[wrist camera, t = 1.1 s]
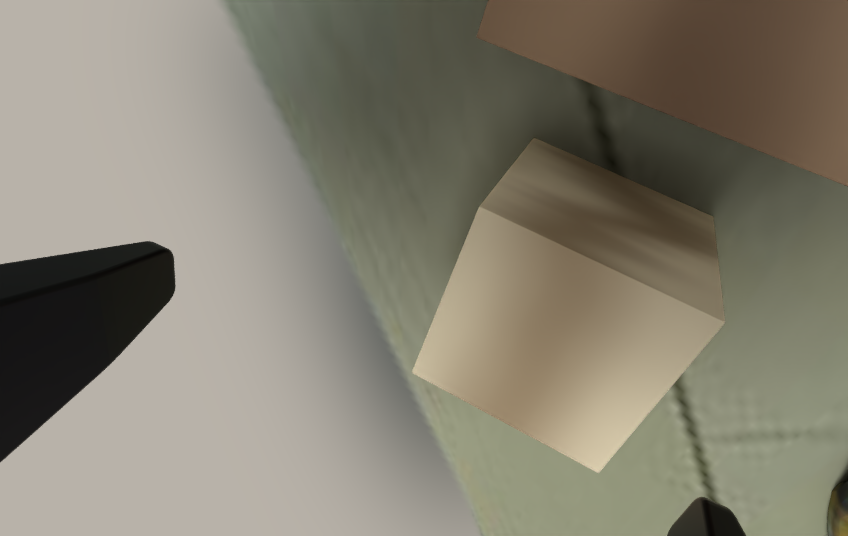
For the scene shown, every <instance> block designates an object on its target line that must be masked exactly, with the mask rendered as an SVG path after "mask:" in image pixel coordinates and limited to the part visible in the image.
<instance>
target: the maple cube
mask: <svg viewBox="0 0 848 536" xmlns="http://www.w3.org/2000/svg"><path fill="white" fill-rule="evenodd" d="M724 324H725V314H724V305H723V297H722V288H721V279H720V270H719V262H718V253H717V244H716V235H715V227H714V218H713V216H710V215H708V214H706V213H704V212H701V211H699V210H697V209H695V208H692V207H690V206H688V205H686V204H683V203H681V202H679V201H676V200H674V199H672V198H670V197H667V196H665V195H663V194H661V193H658V192H656V191H654V190H652V189H649V188H647V187H645V186H643V185H640V184H638V183H636V182H633V181H631V180H629V179H627V178H624V177H622V176H620V175H618V174H615V173H613V172H611V171H609V170H606V169H604V168H602V167H600V166H597V165H595V164H593V163H590V162H588V161H586V160H584V159H581V158H579V157H577V156H575V155H572V154H570V153H568V152H566V151H563V150H561V149H559V148H557V147H554V146H552V145H550V144H547V143H545V142H543V141H541V140H538V139H536V138H533V139H532V140H531V142H530V143H529V144H528V145H527V147H526V148H525V149H524V150H523V152H522V153H521V154H520V155H519V157H518V158H517V159H516V161H515V162H514V163H513V164H512V166H511V167H510V168H509V169H508V171H507V172H506V173H505V174H504V176H503V177H502V178H501V179H500V181H499V182H498V183H497V185H496V186H495V187H494V188H493V190H492V191H491V192H490V193H489V195H488V196H487V197H486V198H485V200H484V201H483V202H482V203H481V205H480V206H479V208H478V211H477V213H476V215H475V218H474V220H473V223H472V225H471V228H470V230H469V233H468V235H467V238H466V240H465V243H464V245H463V248H462V250H461V252H460V255H459V257H458V260H457V262H456V265H455V267H454V270H453V272H452V275H451V277H450V280H449V282H448V284H447V287H446V289H445V292H444V294H443V297H442V299H441V302H440V304H439V307H438V309H437V312H436V314H435V317H434V319H433V321H432V324H431V326H430V329H429V331H428V334H427V336H426V339H425V341H424V344H423V346H422V349H421V351H420V354H419V356H418V358H417V361H416V363H415V366H414V368H413V371H412V373H413V374H415V375H417V376H419V377H421V378H423V379H424V380H426V381H428V382H430V383H432V384H434V385H436V386H437V387H439V388H441V389H443V390H445V391H447V392H449V393H450V394H452V395H454V396H456V397H458V398H460V399H462V400H464V401H465V402H467V403H469V404H471V405H473V406H475V407H477V408H478V409H480V410H482V411H484V412H486V413H488V414H490V415H491V416H493V417H495V418H497V419H499V420H501V421H503V422H504V423H506V424H508V425H510V426H512V427H514V428H516V429H517V430H519V431H521V432H523V433H525V434H527V435H529V436H530V437H532V438H534V439H536V440H538V441H540V442H542V443H543V444H545V445H547V446H549V447H551V448H553V449H555V450H556V451H558V452H560V453H562V454H564V455H566V456H568V457H569V458H571V459H573V460H575V461H577V462H579V463H581V464H582V465H584V466H586V467H588V468H590V469H592V470H594V471H596V472H597V473H599V472H600V471H601V469H602V468H603V467H604V466H605V465H606V464H607V462H608V461H609V460H610V459H611V458H612V456H613V455H614V454H615V453H616V452H617V450H618V449H619V448H620V447H621V446H622V445H623V443H624V442H625V441H626V440H627V439H628V437H629V436H630V435H631V434H632V433H633V432H634V430H635V429H636V428H637V427H638V426H639V424H640V423H641V422H642V421H643V420H644V418H645V417H646V416H647V415H648V414H649V413H650V411H651V410H652V409H653V408H654V407H655V405H656V404H657V403H658V402H659V401H660V400H661V398H662V397H663V396H664V395H665V394H666V392H667V391H668V390H669V389H670V388H671V386H672V385H673V384H674V383H675V382H676V381H677V379H678V378H679V377H680V376H681V375H682V373H683V372H684V371H685V370H686V369H687V368H688V366H689V365H690V364H691V363H692V362H693V360H694V359H695V358H696V357H697V356H698V354H699V353H700V352H701V351H702V350H703V349H704V347H705V346H706V345H707V344H708V343H709V341H710V340H711V339H712V338H713V337H714V336H715V334H716V333H717V332H718V331H719V330H720V328H721V327H722V326H723V325H724Z"/></svg>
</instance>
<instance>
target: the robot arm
mask: <svg viewBox="0 0 848 536" xmlns="http://www.w3.org/2000/svg"><path fill="white" fill-rule="evenodd" d="M174 291H175V271H174V257H173V254H172V252H171V251H170V250H169V249H167V248H165V247H163V246H161V245H158V244H156V243H154V242H150V241H146V242H139V243H133V244H126V245H120V246H113V247H107V248H101V249H94V250H88V251H82V252H75V253H69V254H63V255H57V256H50V257H43V258H37V259H31V260H24V261H19V262H12V263H5V264H0V462H1V461H2V460H3V459H5V458H6V457H7V456H8V455H9V454H10V453H11V452H12V451H14V450H15V449H16V448H17V447H18V446H19V445H21V444H22V443H23V442H24V441H25V440H26V439H27V438H28V437H30V435H32V434H33V433H34V432H35V431H36V430H37V429H39V428H40V427H41V426H42V425H43V424H44V423H45V422H46V421H48V420H49V419H50V418H51V417H52V416H53V415H54V414H55V413H57V411H59V410H60V409H61V408H62V407H63V406H64V405H65V404H67V403H68V402H69V401H70V400H71V399H72V398H73V397H74V396H75V395H77V394H78V393H79V392H80V391H81V390H82V389H84V388H85V387H86V386H87V385H88V384H89V383H90V382H91V381H92V380H94V379H95V378H96V377H97V376H98V375H99V374H100V373H101V372H102V371H104V370H105V369H106V368H107V367H108V366H109V365H110V364H111V363H112V362H113V361H114V360H115V359H116V358H117V357H118V356H119V355H120V354H121V353H122V352H123V350H124V349H125V348H126V347H127V346H128V345H129V344H130V343H131V342H132V341H133V340H134V339H135V338H136V337H137V335H138V334H139V333H140V332H141V331H142V330H143V329H144V328H145V327H146V326H147V325H148V323H150V321H151V320H152V319H153V318H154V317H155V316H156V315H157V314H158V313H159V312H160V311H161V310H162V308H163V307H164V306H165V305H166V304H167V303H168V302H169V301H170V299H171V298H172V296H173V294H174ZM667 536H746V535H745V533H744V531H743V529H742V527H741V526H740V524H739V522H738V520H737V518H736V517H735V515H734V514H733V512H732V511H731V510H730V509H728V508H727V507H725V506H723V505H720V504H718V503H716V502H714V501H712V500H710V499H708V498H705V497H699V498H697V499H695V500H694V501H693V502H692V503H691V504H690V506H689V507H688V508H687V509H686V510H685V511H684V513H683V514H682V515H681V516H680V517H679V518H678V519H677V521H676V522H675V523H674V524H673V525H672V527H671V528H670V530H669V532H668V535H667Z"/></svg>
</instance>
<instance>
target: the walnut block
mask: <svg viewBox="0 0 848 536" xmlns="http://www.w3.org/2000/svg"><path fill="white" fill-rule="evenodd" d="M476 38H479V39H481V40H484V41H486V42H489V43H491V44H494V45H496V46H499V47H501V48H504V49H506V50H509V51H511V52H514V53H516V54H519V55H521V56H524V57H526V58H529V59H531V60H534V61H536V62H539V63H541V64H544V65H546V66H549V67H551V68H554V69H556V70H559V71H561V72H564V73H566V74H569V75H571V76H574V77H576V78H579V79H581V80H583V81H586V82H588V83H591V84H593V85H596V86H598V87H601V88H603V89H606V90H608V91H611V92H613V93H616V94H618V95H621V96H623V97H626V98H628V99H631V100H633V101H636V102H638V103H641V104H643V105H646V106H648V107H651V108H653V109H656V110H658V111H661V112H663V113H666V114H668V115H671V116H673V117H676V118H678V119H681V120H683V121H686V122H688V123H691V124H693V125H696V126H698V127H701V128H703V129H706V130H708V131H711V132H713V133H716V134H718V135H721V136H723V137H726V138H728V139H731V140H733V141H736V142H738V143H741V144H743V145H746V146H748V147H751V148H753V149H756V150H758V151H761V152H763V153H766V154H768V155H771V156H773V157H776V158H778V159H781V160H783V161H786V162H788V163H791V164H793V165H796V166H798V167H800V168H803V169H805V170H808V171H810V172H813V173H815V174H818V175H820V176H823V177H825V178H828V179H830V180H833V181H835V182H838V183H840V184H843V185H845V186H848V0H488V2H487V5H486V8H485V11H484V15H483V18H482V21H481V24H480V27H479V30H478V34H477V37H476Z"/></svg>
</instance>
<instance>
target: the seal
mask: <svg viewBox="0 0 848 536" xmlns="http://www.w3.org/2000/svg"><path fill="white" fill-rule="evenodd" d="M827 520H828V521H827V530H828V536H848V481H847V482H843V483H840V484H838V485H837V486H836V487H835V488H834V490H833V491H832V494H831V498H830V503H829V507H828V516H827Z"/></svg>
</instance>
